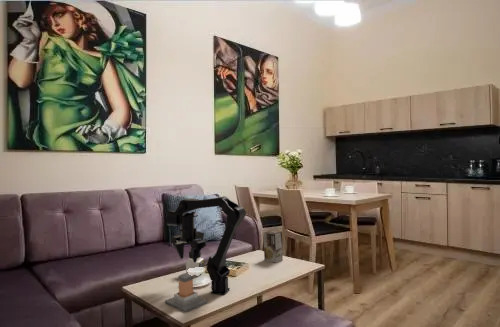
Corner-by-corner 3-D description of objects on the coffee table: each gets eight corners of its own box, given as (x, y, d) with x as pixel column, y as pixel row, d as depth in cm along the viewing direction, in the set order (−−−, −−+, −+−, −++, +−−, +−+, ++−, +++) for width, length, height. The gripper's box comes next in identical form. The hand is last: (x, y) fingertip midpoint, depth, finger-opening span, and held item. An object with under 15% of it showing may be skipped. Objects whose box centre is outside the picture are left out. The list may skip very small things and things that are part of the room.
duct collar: (207, 302, 129) (207, 293, 129) (185, 312, 121) (185, 302, 121) (186, 294, 138) (186, 285, 138) (164, 302, 130) (164, 293, 130)
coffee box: (283, 260, 183) (282, 232, 183) (276, 263, 178) (275, 234, 178) (270, 257, 189) (270, 230, 189) (263, 260, 184) (263, 232, 184)
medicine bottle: (199, 276, 160) (198, 252, 160) (186, 275, 161) (185, 252, 161) (204, 271, 167) (203, 248, 167) (191, 271, 168) (190, 248, 168)
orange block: (193, 300, 130) (192, 275, 130) (185, 303, 127) (184, 278, 127) (187, 297, 133) (186, 273, 133) (179, 301, 130) (178, 276, 130)
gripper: (214, 225, 147) (215, 259, 147) (188, 221, 159) (188, 253, 159) (196, 230, 138) (196, 266, 138) (169, 225, 150) (170, 258, 150)
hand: (188, 260), depth 146 cm, fingers open, 9 cm apart
